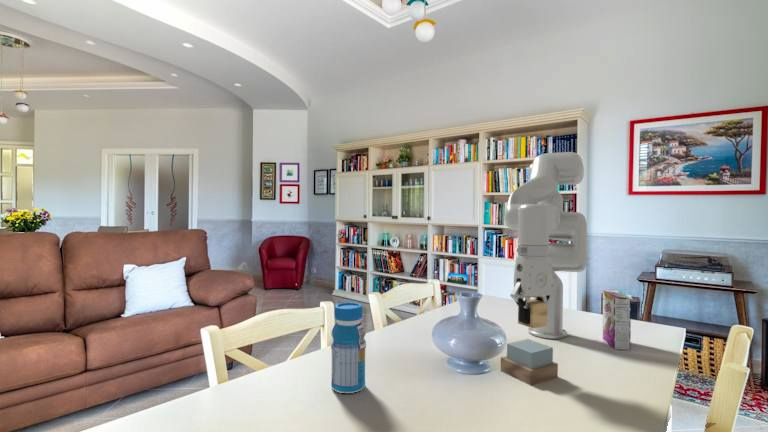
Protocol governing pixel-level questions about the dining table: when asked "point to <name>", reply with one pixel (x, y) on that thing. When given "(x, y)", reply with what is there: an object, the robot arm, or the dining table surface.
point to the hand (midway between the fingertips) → (532, 320)
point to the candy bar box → (616, 319)
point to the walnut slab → (529, 371)
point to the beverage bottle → (348, 349)
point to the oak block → (536, 314)
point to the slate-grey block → (530, 353)
